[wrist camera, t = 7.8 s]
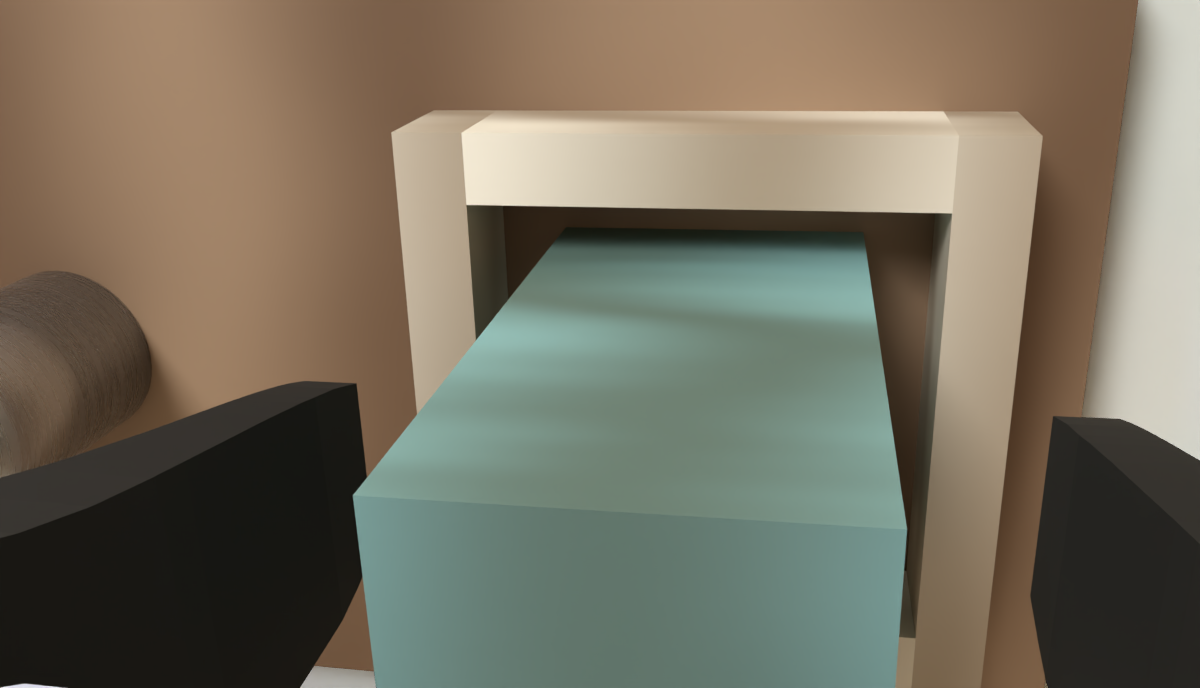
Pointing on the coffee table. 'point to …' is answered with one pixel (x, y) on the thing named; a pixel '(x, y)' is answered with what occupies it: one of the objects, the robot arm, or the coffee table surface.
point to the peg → (650, 478)
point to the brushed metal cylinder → (65, 368)
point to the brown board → (593, 212)
